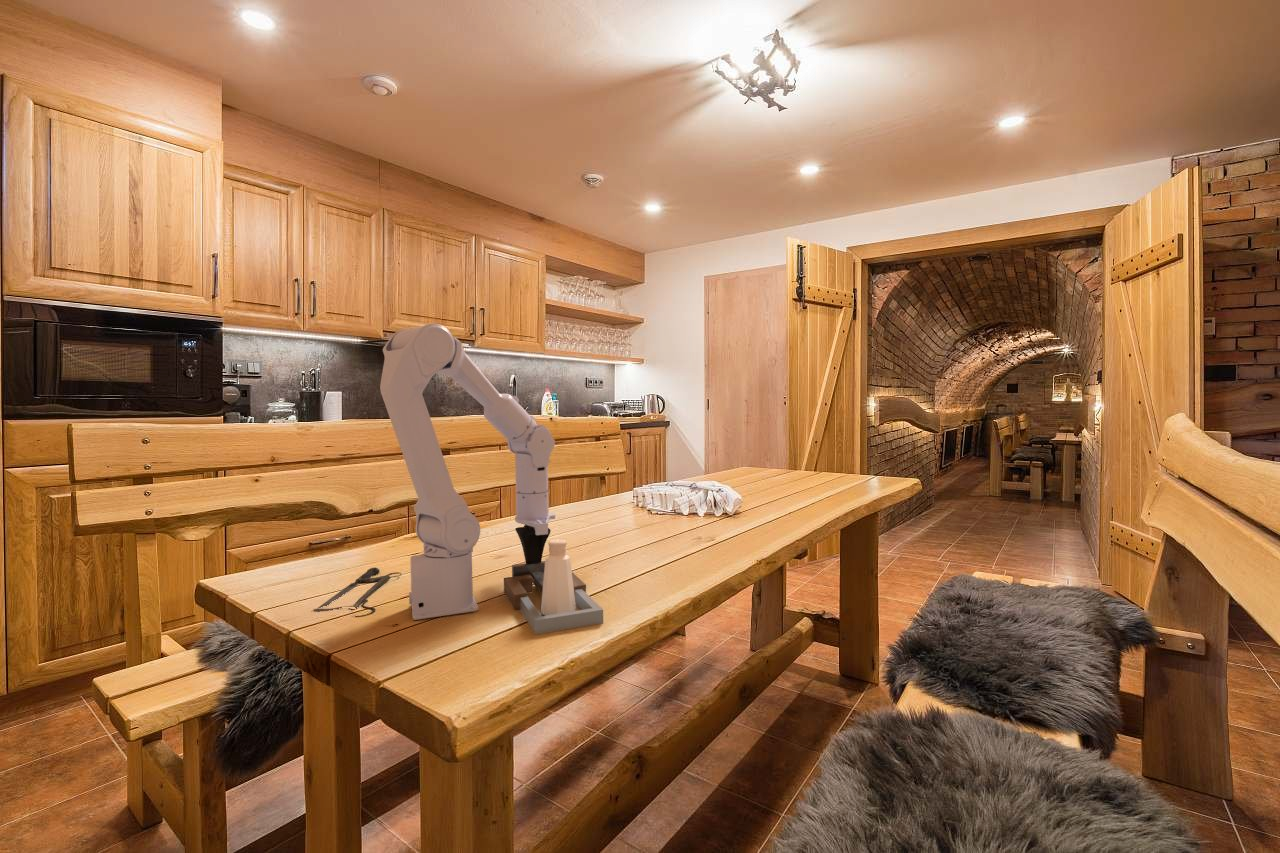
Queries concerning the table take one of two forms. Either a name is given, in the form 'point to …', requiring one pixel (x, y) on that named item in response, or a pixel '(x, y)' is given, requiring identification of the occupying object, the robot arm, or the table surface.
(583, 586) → the holder
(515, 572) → the release key
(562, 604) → the pepper shaker
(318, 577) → the table surface
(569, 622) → the grey u-shaped frame
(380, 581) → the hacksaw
